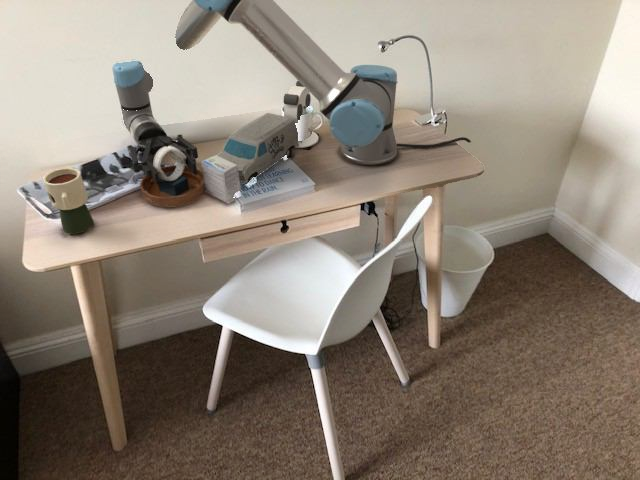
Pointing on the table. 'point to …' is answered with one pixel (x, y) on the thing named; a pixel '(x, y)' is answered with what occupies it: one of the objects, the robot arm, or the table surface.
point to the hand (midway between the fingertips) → (176, 174)
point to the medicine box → (221, 178)
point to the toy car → (260, 145)
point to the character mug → (69, 199)
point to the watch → (172, 180)
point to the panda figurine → (298, 109)
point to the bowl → (165, 200)
